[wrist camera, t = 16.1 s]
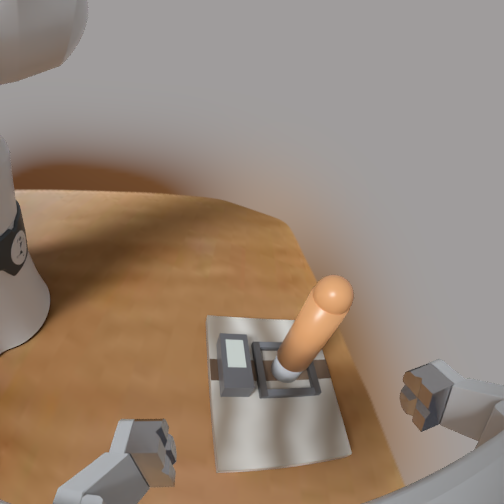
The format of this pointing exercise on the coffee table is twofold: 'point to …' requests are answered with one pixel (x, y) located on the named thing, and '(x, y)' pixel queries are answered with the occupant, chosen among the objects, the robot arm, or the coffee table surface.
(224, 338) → the block
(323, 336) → the tan rounded rod
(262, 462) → the metal mounting plate
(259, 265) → the coffee table surface
